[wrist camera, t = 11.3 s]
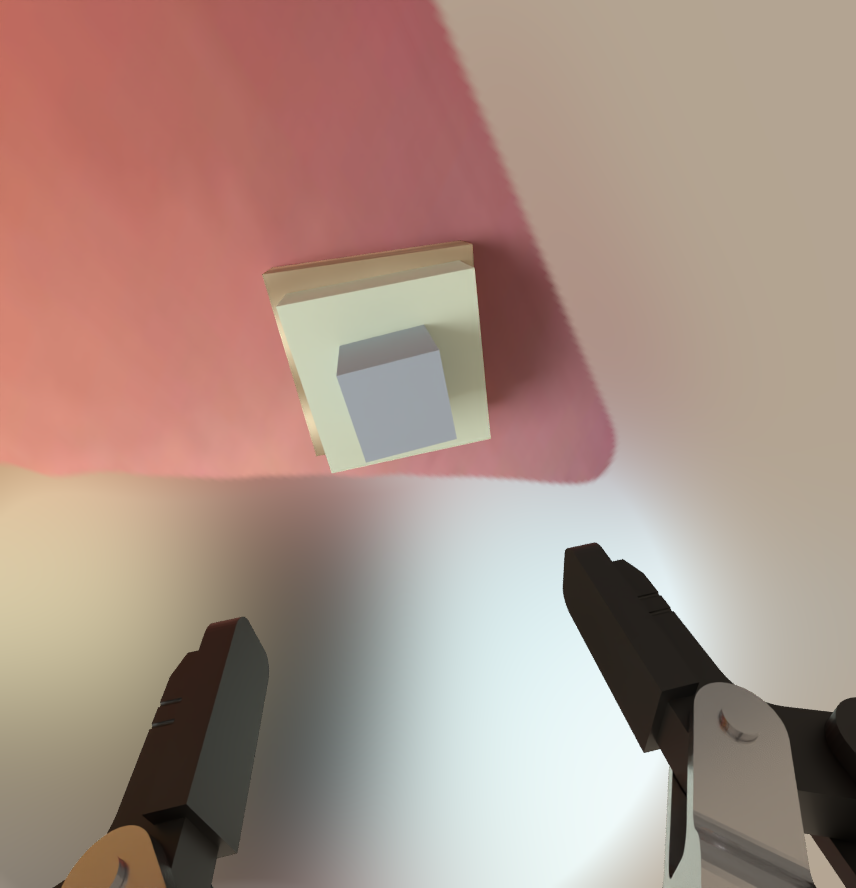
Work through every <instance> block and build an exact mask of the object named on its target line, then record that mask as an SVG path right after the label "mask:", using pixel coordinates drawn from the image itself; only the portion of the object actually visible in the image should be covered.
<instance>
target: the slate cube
mask: <svg viewBox="0 0 856 888" xmlns="http://www.w3.org/2000/svg"><path fill="white" fill-rule="evenodd" d="M336 377H337V380H338V382H339V385H340V388H341V391H342V394H343V397H344V400H345V403H346V406H347V409H348V412H349V415H350V417H351V420H352V423H353V426H354V429H355V432H356V435H357V438H358V441H359V444H360V447H361V449H362V452H363V455H364V458H365V461H366V463H367V462H370V461H374V460H378V459H382V458H386V457H390V456H393V455H397V454H401V453H405V452H409V451H413V450H416V449H420V448H424V447H428V446H432V445H435V444H439V443H443V442H447V441H451V440H455V439H457V437H456V432H455V427H454V422H453V417H452V412H451V407H450V402H449V397H448V392H447V387H446V382H445V377H444V372H443V367H442V362H441V357H440V352H439V349H438V347H437V345H436V344H435V342H434V340H433V339H432V337H431V335H430V334H429V332H428V331H427V329H426V327H425V326H424V325H420V326H416V327H412V328H408V329H404V330H400V331H396V332H392V333H388V334H384V335H381V336H377V337H373V338H369V339H365V340H361V341H357V342H353V343H349V344H345V345H341V346H339V355H338V365H337V374H336Z"/></svg>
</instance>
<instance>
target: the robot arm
mask: <svg viewBox="0 0 856 888" xmlns="http://www.w3.org/2000/svg"><path fill="white" fill-rule="evenodd" d="M563 594H564V599H565V603H566V606H567V608H568V611H569V613H570V615H571V617H572V618H573V621H574V622H575V624H576V626H577V628H578V630H579V632H580V634H581V636H582V637H583V639H584V641H585V643H586V645H587V647H588V649H589V651H590V653H591V654H592V656H593V658H594V660H595V662H596V664H597V666H598V668H599V670H600V671H601V673H602V675H603V677H604V679H605V681H606V683H607V685H608V686H609V688H610V690H611V692H612V694H613V696H614V698H615V700H616V701H617V703H618V705H619V707H620V709H621V711H622V713H623V715H624V717H625V718H626V720H627V722H628V724H629V726H630V728H631V730H632V732H633V733H634V735H635V737H636V739H637V741H638V743H639V745H640V747H641V748H642V750H643V752H644V753H646V752H650V751H654V750H658V749H661V751H662V753H663V755H664V756H665V758H666V760H667V762H668V764H669V765H670V767H669V778H668V800H667V820H666V842H665V862H664V879H663V887H662V888H816V886H815V885H814V882H813V880H812V877H811V873H810V869H809V863H808V856H807V850H806V843H805V837H804V833H806V834H810V835H811V836H812V838H813V839H814V841H815V842H816V844H817V845H818V847H819V848H820V850H821V851H822V853H823V854H824V855H825V857H826V859H827V860H828V861H829V863H830V864H831V866H832V867H833V869H834V870H835V872H836V873H837V875H838V876H839V878H840V879H841V881H842V882H843V884H844V885H845V887H846V888H856V697H855V698H849V699H846V700H844V701H842V702H841V703H840V704H839V705H838V706H837V708H836V709H835V710H834V712H827V711H818V710H809V709H801V708H792V707H784V706H778V705H774V704H770V703H767V702H764V701H763V700H762V699H761V698H759V697H758V696H756V695H755V694H754V693H752V692H750V691H748V690H746V689H744V688H742V687H739V686H737V685H734V684H733V683H732V682H731V681H730V680H729V679H728V678H727V677H726V676H725V675H724V674H723V673H722V672H721V671H720V670H719V668H718V667H717V666H716V664H715V663H714V662H713V661H712V659H711V658H710V657H709V656H708V654H707V653H706V652H705V651H704V650H703V648H702V647H701V645H700V644H699V643H698V642H697V640H696V639H695V638H694V637H693V636H692V634H691V633H690V632H689V630H688V629H687V628H686V627H685V625H684V624H683V623H682V621H681V620H680V619H679V618H678V616H677V615H676V614H675V613H674V611H671V609H670V606H669V605H668V604H667V603H666V601H665V600H664V599H663V598H662V596H659V594H658V591H657V590H656V589H655V587H654V586H653V585H652V584H651V582H650V581H649V580H648V578H647V577H646V576H645V575H644V573H642V572H641V571H639V570H638V569H637V568H635V567H634V566H632V565H631V564H629V563H628V562H626V561H625V560H623V559H622V560H617V561H613V562H612V561H611V560H610V558H609V557H608V555H607V554H606V553H605V551H604V550H603V549H602V547H601V546H600V545H599V544H597V543H590V544H585V545H581V546H576V547H571V548H567V549H566V550H565V558H564V575H563ZM268 678H269V664H268V658H267V655H266V652H265V650H264V648H263V646H262V645H261V643H260V641H259V639H258V637H257V636H256V634H255V632H254V630H253V628H252V626H251V625H250V623H249V621H248V620H247V618H245V617H239V618H234V619H230V620H225V621H220V622H216V623H212V624H210V625H209V626H208V627H207V629H206V631H205V634H204V637H203V639H202V642H201V645H200V648H199V651H194V652H189V653H187V655H186V656H185V657H184V659H183V660H182V661H181V663H180V664H179V665H178V667H177V668H176V669H175V671H174V672H173V673H172V675H171V676H170V678H169V681H168V683H167V686H166V689H165V691H164V694H163V696H162V699H161V702H160V703H161V706H160V707H158V709H157V712H156V714H155V717H154V720H153V722H152V729H150V730H149V732H148V735H147V737H146V740H145V743H144V745H143V748H142V750H141V753H140V755H139V758H138V761H137V763H136V766H135V768H134V771H133V773H132V776H131V779H130V781H129V784H128V786H127V789H126V791H125V794H124V797H123V799H122V802H121V805H120V807H119V810H118V812H117V815H116V817H115V819H114V821H113V823H112V825H111V827H110V829H109V831H108V833H107V834H106V835H105V836H103V837H102V838H101V839H99V840H98V841H97V842H96V843H94V844H93V845H92V846H91V847H90V848H89V849H88V850H87V851H86V852H85V853H84V854H83V856H82V857H81V858H80V859H79V860H78V862H77V863H76V864H75V865H74V867H73V868H72V870H71V871H70V873H69V874H68V876H67V878H66V879H65V880H64V881H62V882H61V883H59V884H58V885H56V886H55V887H53V888H213V886H212V884H211V883H212V879H213V874H214V869H215V864H216V859H217V858H220V857H224V856H229V855H232V854H237V851H238V846H239V841H240V835H241V830H242V824H243V818H244V812H245V807H246V802H247V796H248V790H249V785H250V779H251V773H252V768H253V762H254V757H255V751H256V746H257V740H258V735H259V729H260V724H261V718H262V712H263V707H264V701H265V696H266V690H267V685H268Z"/></svg>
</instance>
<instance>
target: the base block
mask: <svg viewBox="0 0 856 888" xmlns="http://www.w3.org/2000/svg"><path fill="white" fill-rule="evenodd" d="M458 260H459V261H461V262H463V263H465V264H468V265H470V266H472V267H474V263H473V246H472V244H471V243H467V242H464V241H461V240H460V241H453V242H446V243H439V244H433V245H426V246H419V247H412V248H405V249H398V250H391V251H384V252H377V253H370V254H363V255H356V256H349V257H342V258H335V259H329V260H322V261H315V262H308V263H301V264H294V265H287V266H280V267H273V268H271V269H269V270H268V271H267V272H265V273H264V274H262V275H263V279H264V282H265V285H266V289H267V292H268V295H269V299H270V302H271V306H272V309H273V312H274V316H275V319H276V322H277V326H278V329H279V332H280V336H281V339H282V342H283V346H284V349H285V352H286V356H287V359H288V362H289V366H290V369H291V372H292V376H293V379H294V382H295V386H296V389H297V393H298V396H299V399H300V403H301V406H302V409H303V413H304V416H305V419H306V423H307V426H308V429H309V433H310V436H311V439H312V443H313V446H314V449H315V453H316V456H320V455H325V451H324V448H323V445H322V443H321V440H320V437H319V434H318V431H317V428H316V425H315V422H314V419H313V416H312V413H311V410H310V407H309V404H308V401H307V398H306V395H305V392H304V389H303V386H302V383H301V380H300V377H299V374H298V371H297V368H296V365H295V362H294V359H293V356H292V353H291V350H290V348H289V345H288V342H287V339H286V336H285V333H284V330H283V327H282V324H281V321H280V318H279V315H278V312H277V309H276V306H277V305H278V303H279V302H280V301H281V300H282V298H283V297H284V296H285V295H286V294H288V293H293V292H298V291H303V290H308V289H314V288H319V287H324V286H329V285H334V284H339V283H344V282H350V281H355V280H360V279H365V278H370V277H375V276H380V275H386V274H391V273H396V272H401V271H406V270H411V269H417V268H422V267H427V266H432V265H437V264H442V263H447V262H453V261H458Z"/></svg>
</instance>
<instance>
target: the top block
mask: <svg viewBox="0 0 856 888" xmlns="http://www.w3.org/2000/svg"><path fill="white" fill-rule="evenodd" d="M276 309H277V312H278V315H279V318H280V321H281V324H282V327H283V330H284V333H285V336H286V339H287V342H288V345H289V348H290V350H291V353H292V356H293V359H294V362H295V365H296V368H297V371H298V374H299V377H300V380H301V383H302V386H303V389H304V392H305V395H306V398H307V401H308V404H309V407H310V410H311V413H312V416H313V419H314V422H315V425H316V428H317V431H318V434H319V437H320V440H321V443H322V445H323V448H324V451H325V454H326V457H327V460H328V463H329V466H330V469H331V472H332V473H336V472H340V471H345V470H350V469H354V468H359V467H363V466H368V465H372V464H377V463H381V462H386V461H391V460H395V459H400V458H404V457H409V456H413V455H418V454H423V453H427V452H432V451H436V450H441V449H445V448H450V447H454V446H459V445H464V444H468V443H473V442H477V441H482V440H486V439H491V437H490V426H489V416H488V405H487V395H486V384H485V373H484V363H483V352H482V342H481V331H480V321H479V310H478V299H477V289H476V278H475V268H474V267H472V266H470V265H468V264H465V263H463V262H461V261H459V260H458V261H453V262H447V263H442V264H437V265H432V266H427V267H422V268H417V269H411V270H406V271H401V272H396V273H391V274H386V275H380V276H375V277H370V278H365V279H360V280H355V281H350V282H344V283H339V284H334V285H329V286H324V287H319V288H314V289H308V290H303V291H298V292H293V293H288V294H286V295H285V296H284V297H283V298H282V300H281V301H280V302H279V303H278V305H277V306H276ZM420 325H424V326H425V327H426V329H427V331H428V332H429V334H430V335H431V337H432V339H433V340H434V342H435V344H436V345H437V347H438V349H439V352H440V357H441V362H442V367H443V372H444V377H445V382H446V387H447V392H448V397H449V402H450V407H451V412H452V417H453V422H454V427H455V432H456V437H457V439H455V440H451V441H447V442H443V443H439V444H435V445H432V446H428V447H424V448H420V449H416V450H413V451H409V452H405V453H401V454H397V455H393V456H390V457H386V458H382V459H378V460H374V461H370V462H367V463H366V461H365V458H364V455H363V452H362V449H361V447H360V444H359V441H358V438H357V435H356V432H355V429H354V426H353V423H352V420H351V417H350V415H349V412H348V409H347V406H346V403H345V400H344V397H343V394H342V391H341V388H340V385H339V382H338V380H337V377H336V374H337V365H338V355H339V346H341V345H345V344H349V343H353V342H357V341H361V340H365V339H369V338H373V337H377V336H381V335H384V334H388V333H392V332H396V331H400V330H404V329H408V328H412V327H416V326H420Z"/></svg>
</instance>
